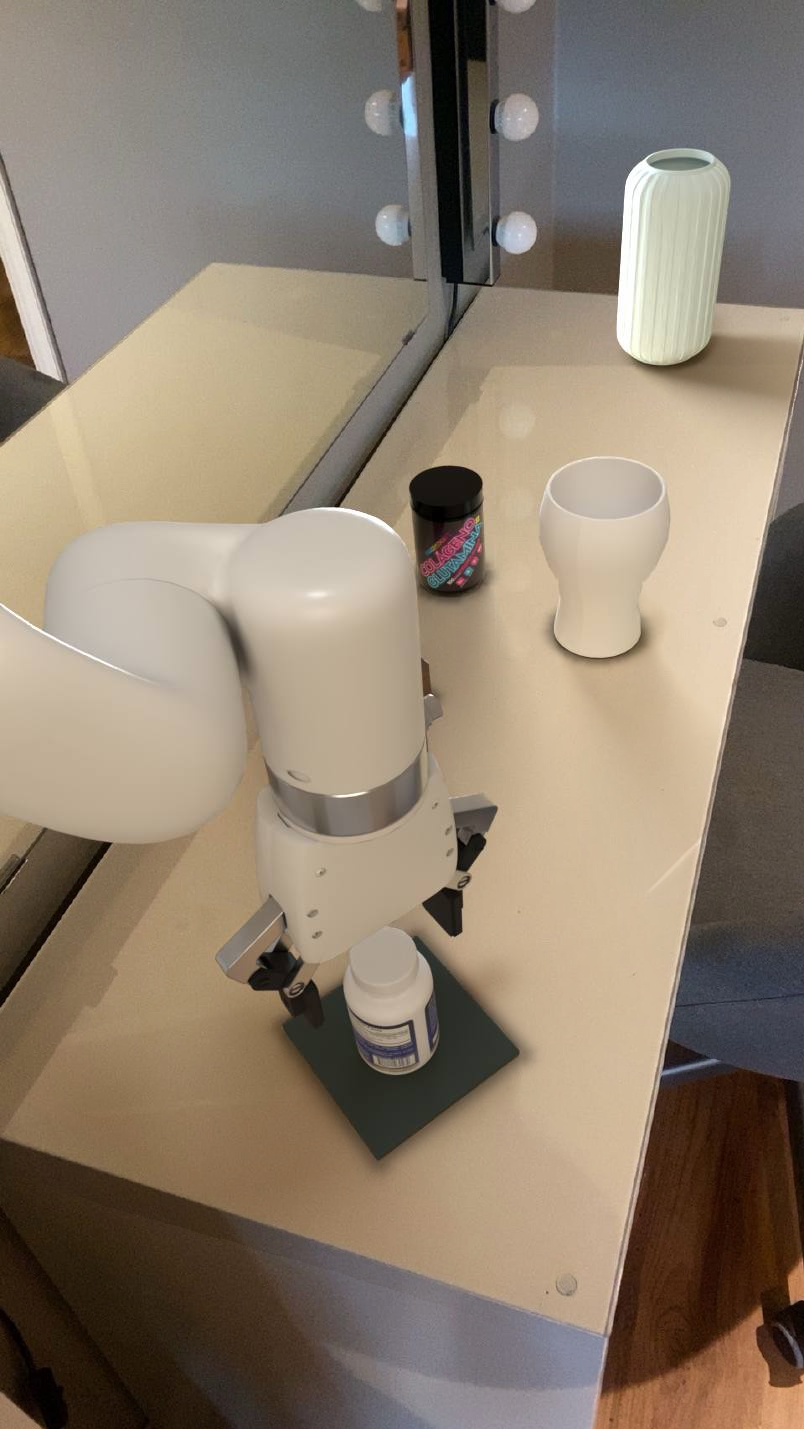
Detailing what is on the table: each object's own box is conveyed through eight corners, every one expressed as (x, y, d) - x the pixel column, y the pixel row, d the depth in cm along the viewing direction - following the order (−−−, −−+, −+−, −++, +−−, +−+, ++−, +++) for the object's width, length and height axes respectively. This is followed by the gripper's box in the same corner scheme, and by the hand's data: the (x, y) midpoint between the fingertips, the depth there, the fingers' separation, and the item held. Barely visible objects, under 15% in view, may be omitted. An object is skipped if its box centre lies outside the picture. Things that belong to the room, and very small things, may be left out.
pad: (377, 1161, 62) (376, 1157, 62) (282, 1028, 69) (281, 1024, 69) (519, 1054, 66) (519, 1050, 66) (417, 938, 73) (416, 934, 73)
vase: (718, 336, 133) (743, 145, 117) (697, 378, 126) (721, 180, 110) (629, 326, 137) (642, 140, 121) (604, 366, 130) (614, 174, 114)
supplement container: (405, 590, 101) (395, 497, 94) (435, 551, 105) (428, 459, 98) (468, 606, 99) (464, 512, 91) (497, 565, 103) (495, 472, 95)
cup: (681, 625, 94) (700, 481, 84) (607, 687, 89) (618, 541, 79) (587, 579, 100) (594, 438, 89) (513, 634, 95) (512, 493, 85)
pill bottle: (398, 985, 70) (384, 899, 63) (457, 1035, 67) (449, 951, 60) (338, 1039, 68) (317, 956, 61) (396, 1094, 65) (381, 1014, 58)
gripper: (445, 644, 55) (454, 849, 67) (145, 802, 48) (214, 998, 60) (540, 723, 50) (531, 928, 62) (224, 910, 43) (282, 1099, 55)
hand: (376, 962), depth 61 cm, fingers open, 9 cm apart
